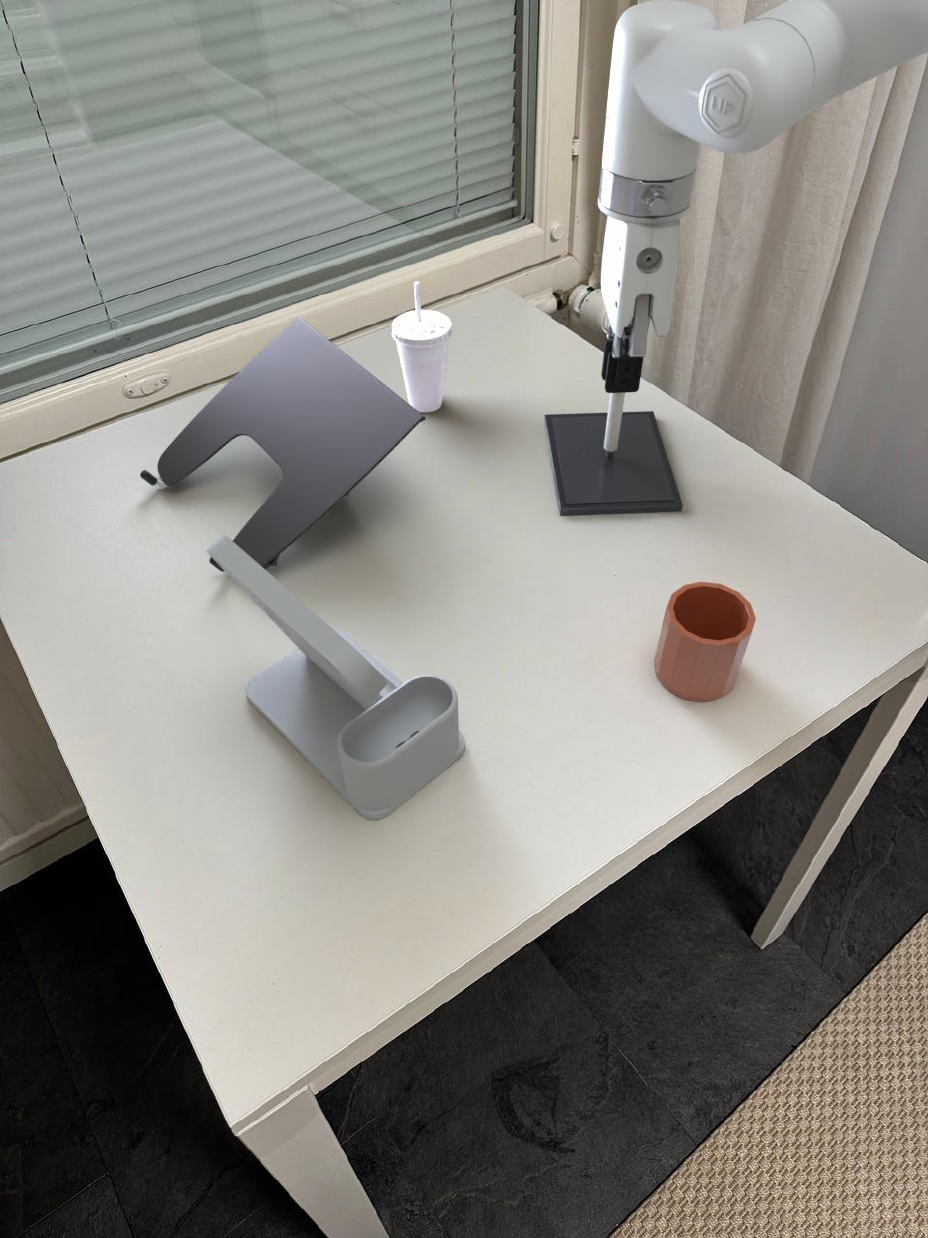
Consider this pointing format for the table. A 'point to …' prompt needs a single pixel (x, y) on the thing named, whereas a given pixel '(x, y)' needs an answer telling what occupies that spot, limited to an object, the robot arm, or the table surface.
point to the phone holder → (347, 701)
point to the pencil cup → (703, 640)
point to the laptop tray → (295, 433)
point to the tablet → (610, 465)
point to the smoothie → (423, 354)
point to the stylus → (614, 420)
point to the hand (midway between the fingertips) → (619, 383)
